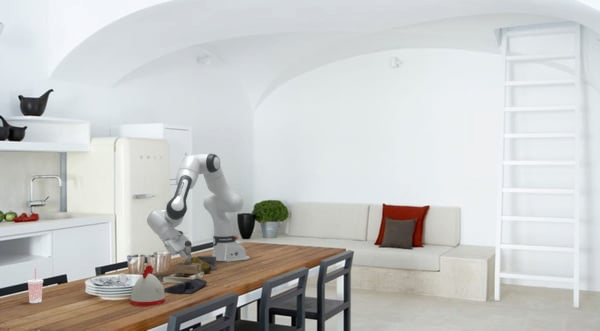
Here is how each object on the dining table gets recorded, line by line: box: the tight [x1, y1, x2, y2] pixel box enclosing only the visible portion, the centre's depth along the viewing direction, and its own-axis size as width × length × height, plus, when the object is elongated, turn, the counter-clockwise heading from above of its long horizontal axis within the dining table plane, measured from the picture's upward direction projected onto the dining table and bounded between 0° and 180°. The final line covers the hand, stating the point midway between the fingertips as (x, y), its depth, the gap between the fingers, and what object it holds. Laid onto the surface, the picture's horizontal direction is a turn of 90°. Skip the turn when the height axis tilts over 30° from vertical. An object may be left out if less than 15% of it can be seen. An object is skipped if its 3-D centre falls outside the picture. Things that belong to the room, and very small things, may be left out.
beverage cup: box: [27, 267, 44, 304], centre depth 257 cm, size 6×6×14 cm
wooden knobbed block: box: [174, 240, 201, 276], centre depth 309 cm, size 7×11×18 cm, turn 76°
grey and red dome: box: [130, 265, 166, 307], centre depth 257 cm, size 14×14×15 cm
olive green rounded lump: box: [191, 256, 212, 274], centre depth 322 cm, size 8×13×8 cm, turn 58°
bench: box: [162, 255, 217, 284], centre depth 314 cm, size 39×14×7 cm, turn 166°
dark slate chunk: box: [164, 278, 208, 295], centre depth 283 cm, size 15×22×5 cm
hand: (189, 257), depth 308 cm, fingers closed on wooden knobbed block, 3 cm apart
